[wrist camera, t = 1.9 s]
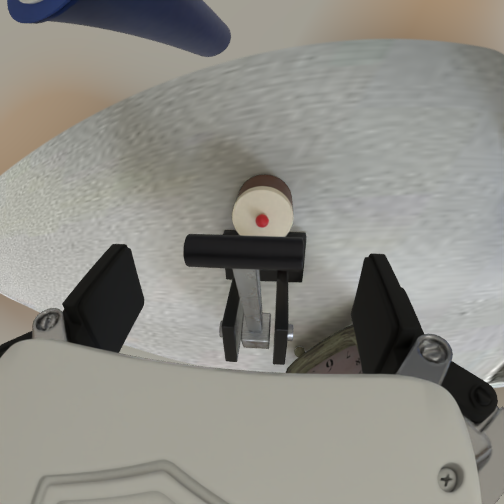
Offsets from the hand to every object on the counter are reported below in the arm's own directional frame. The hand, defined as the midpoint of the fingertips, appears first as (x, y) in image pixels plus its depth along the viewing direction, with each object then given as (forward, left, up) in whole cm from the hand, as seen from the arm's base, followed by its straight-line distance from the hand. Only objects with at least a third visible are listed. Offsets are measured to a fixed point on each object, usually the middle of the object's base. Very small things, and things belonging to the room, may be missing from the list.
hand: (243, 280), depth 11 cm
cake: (+5, 0, -20) cm, 20 cm away
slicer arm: (+5, 0, -6) cm, 8 cm away
